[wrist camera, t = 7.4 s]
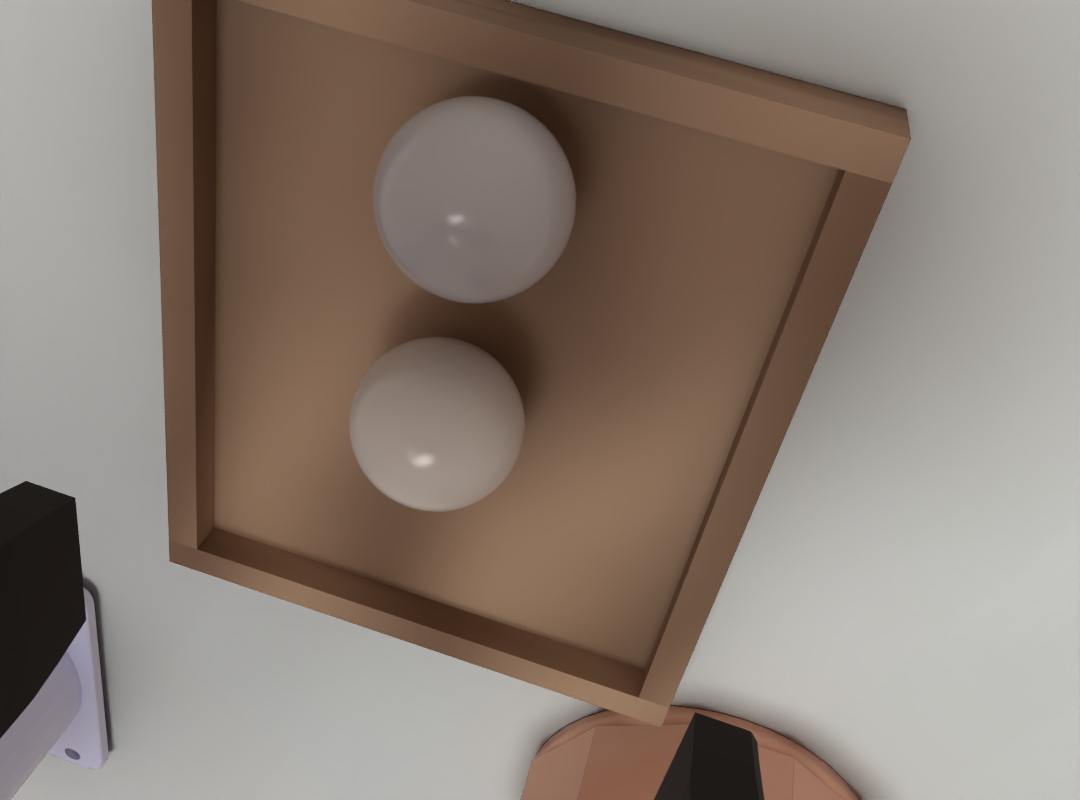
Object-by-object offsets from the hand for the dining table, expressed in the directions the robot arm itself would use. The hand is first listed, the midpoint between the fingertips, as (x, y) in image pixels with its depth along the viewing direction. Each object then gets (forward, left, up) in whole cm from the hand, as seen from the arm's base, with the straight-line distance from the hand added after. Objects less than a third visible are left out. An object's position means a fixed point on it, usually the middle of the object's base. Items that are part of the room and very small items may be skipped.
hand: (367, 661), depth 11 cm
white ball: (-1, -2, -9) cm, 9 cm away
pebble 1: (-1, +2, -9) cm, 9 cm away
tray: (-1, -2, -9) cm, 10 cm away
